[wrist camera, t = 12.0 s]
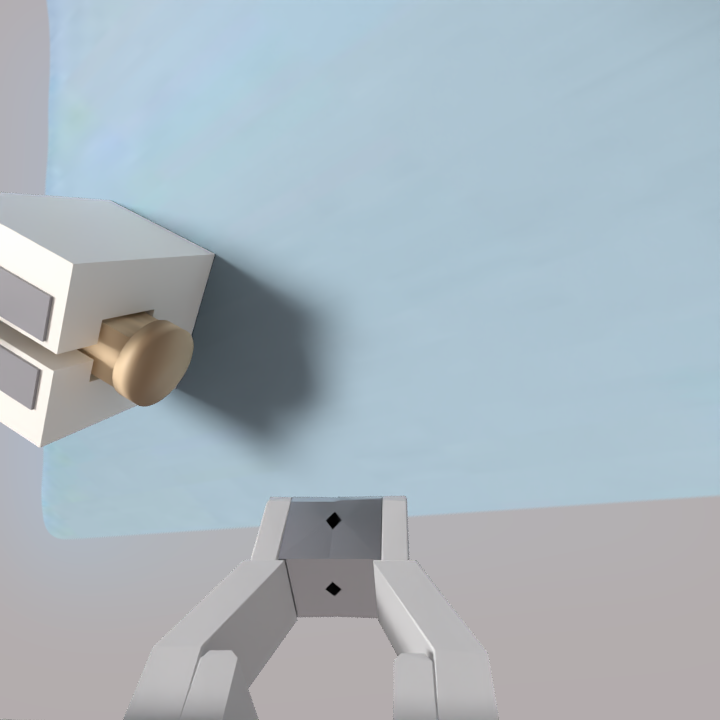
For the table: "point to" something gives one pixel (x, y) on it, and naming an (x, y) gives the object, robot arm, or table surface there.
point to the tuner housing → (80, 303)
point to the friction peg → (141, 356)
